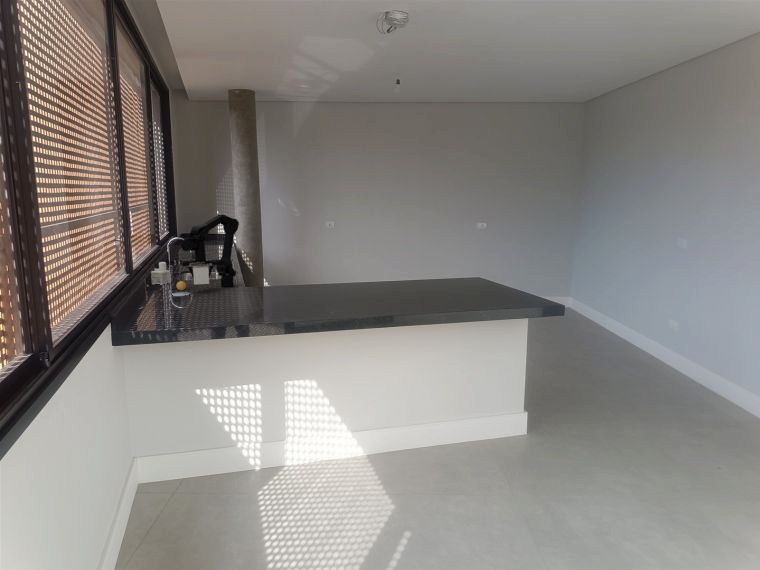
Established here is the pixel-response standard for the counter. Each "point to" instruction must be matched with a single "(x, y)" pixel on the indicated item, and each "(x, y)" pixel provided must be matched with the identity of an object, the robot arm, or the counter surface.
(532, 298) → the counter surface
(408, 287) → the counter surface
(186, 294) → the disc
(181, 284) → the ball
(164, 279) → the container
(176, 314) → the counter surface
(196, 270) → the matte gray cube
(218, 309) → the counter surface
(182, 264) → the robot arm
